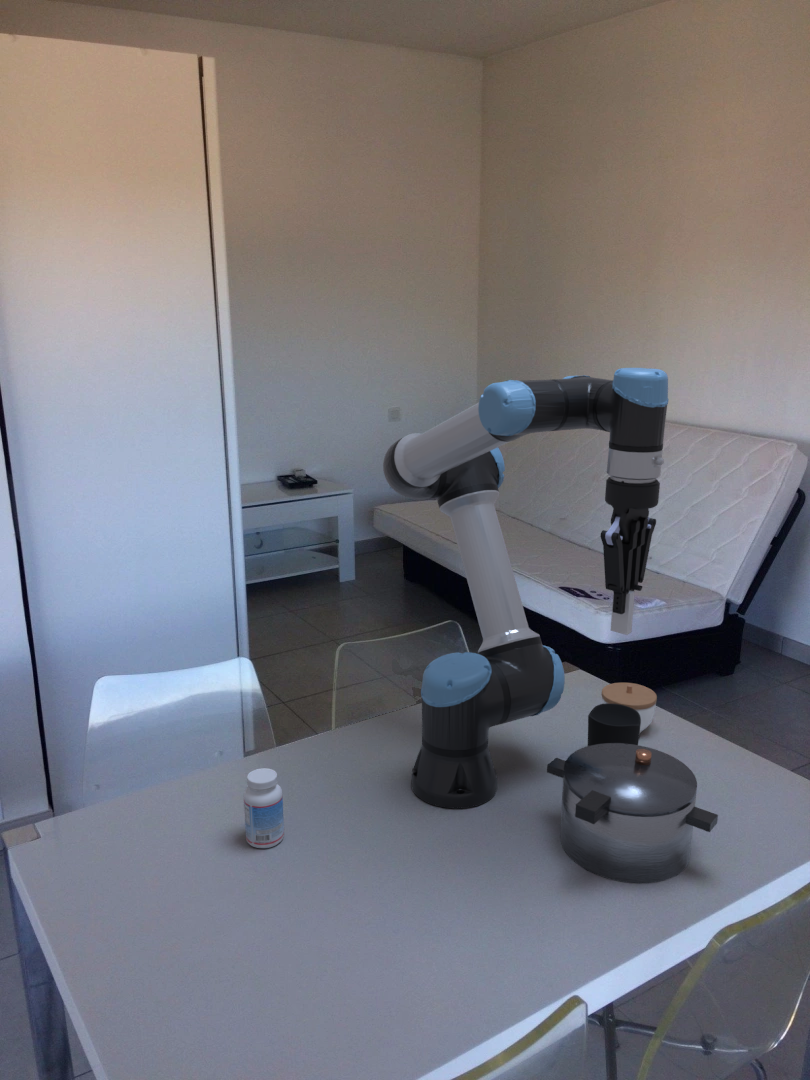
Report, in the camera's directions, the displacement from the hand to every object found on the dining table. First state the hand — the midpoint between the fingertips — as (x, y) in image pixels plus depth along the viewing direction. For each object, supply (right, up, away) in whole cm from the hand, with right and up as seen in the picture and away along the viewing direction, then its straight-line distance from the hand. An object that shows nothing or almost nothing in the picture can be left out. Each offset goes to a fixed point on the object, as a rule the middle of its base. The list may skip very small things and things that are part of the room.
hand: (620, 631), depth 132 cm
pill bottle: (-55, -34, +8) cm, 65 cm away
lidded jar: (+12, -25, +45) cm, 52 cm away
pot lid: (+1, -24, +2) cm, 24 cm away
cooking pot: (+2, -34, +7) cm, 35 cm away
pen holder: (+6, -28, +31) cm, 42 cm away
